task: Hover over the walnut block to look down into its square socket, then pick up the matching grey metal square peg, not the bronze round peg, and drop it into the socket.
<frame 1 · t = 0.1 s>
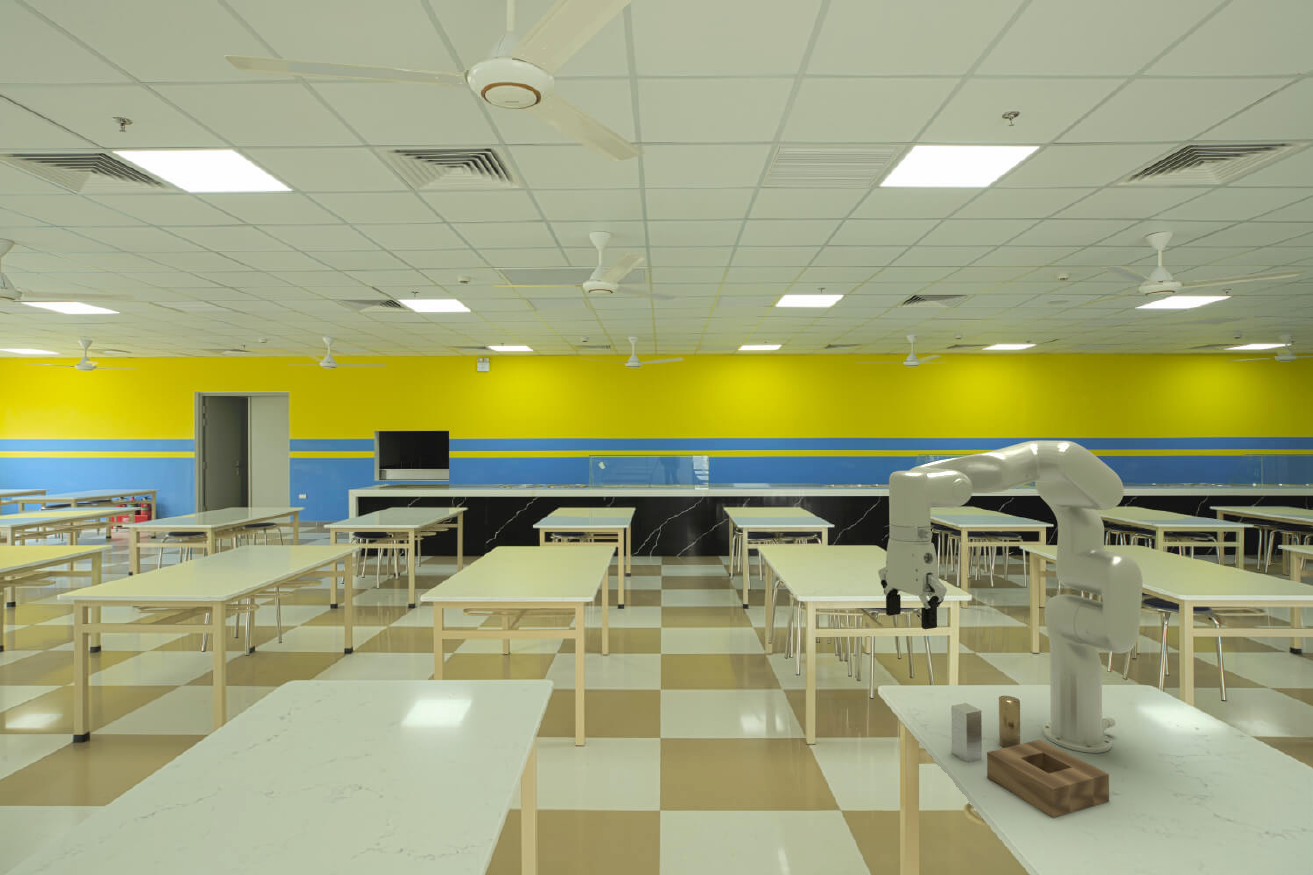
hand: (910, 621, 125), 31 cm above the table, tool pointing down, fingers open, 9 cm apart
socket block: (1046, 788, 121), on the table
square peg: (966, 755, 133), on the table
round peg: (1009, 745, 137), on the table
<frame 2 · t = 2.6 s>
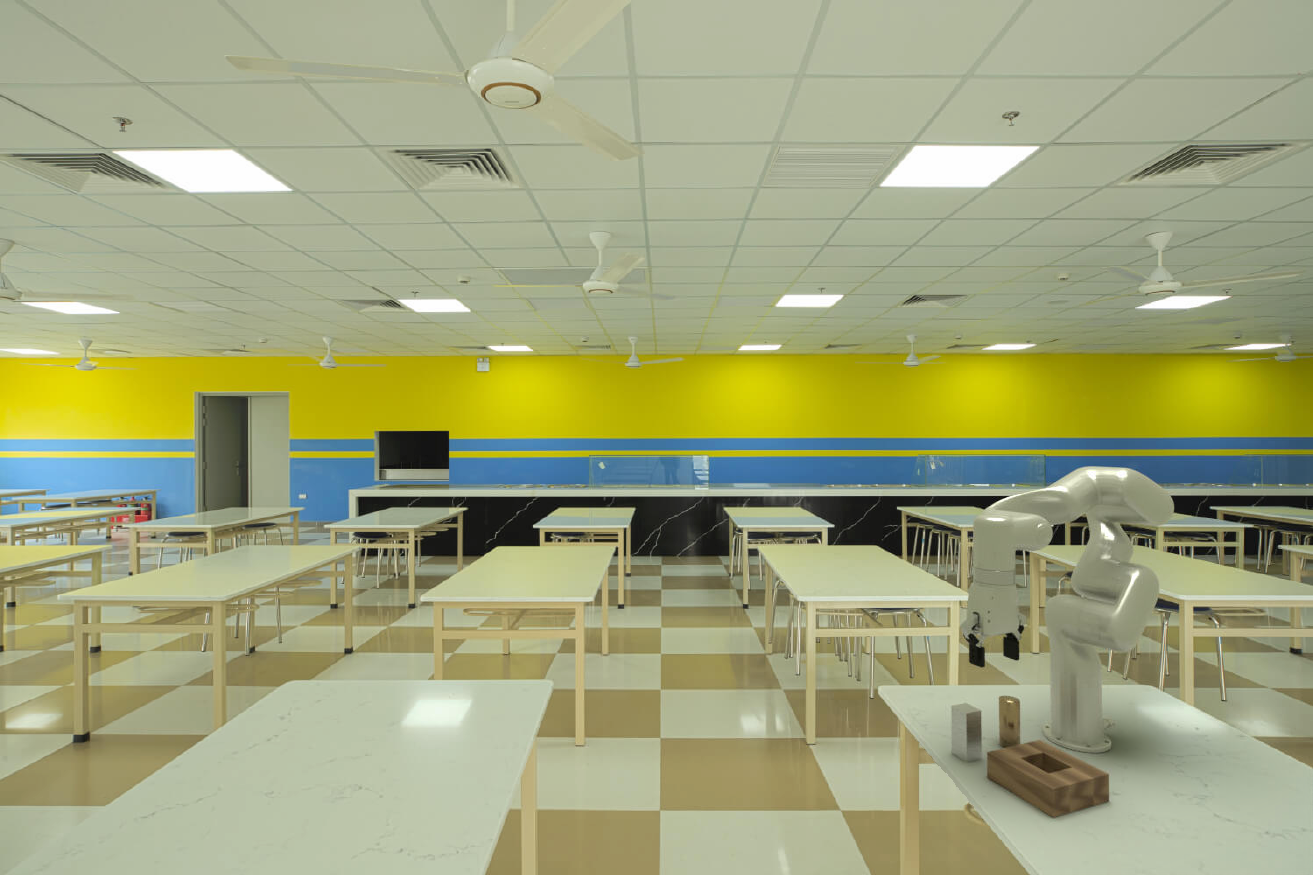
hand: (994, 661, 128), 22 cm above the table, tool pointing down, fingers open, 9 cm apart
nothing on the table moved.
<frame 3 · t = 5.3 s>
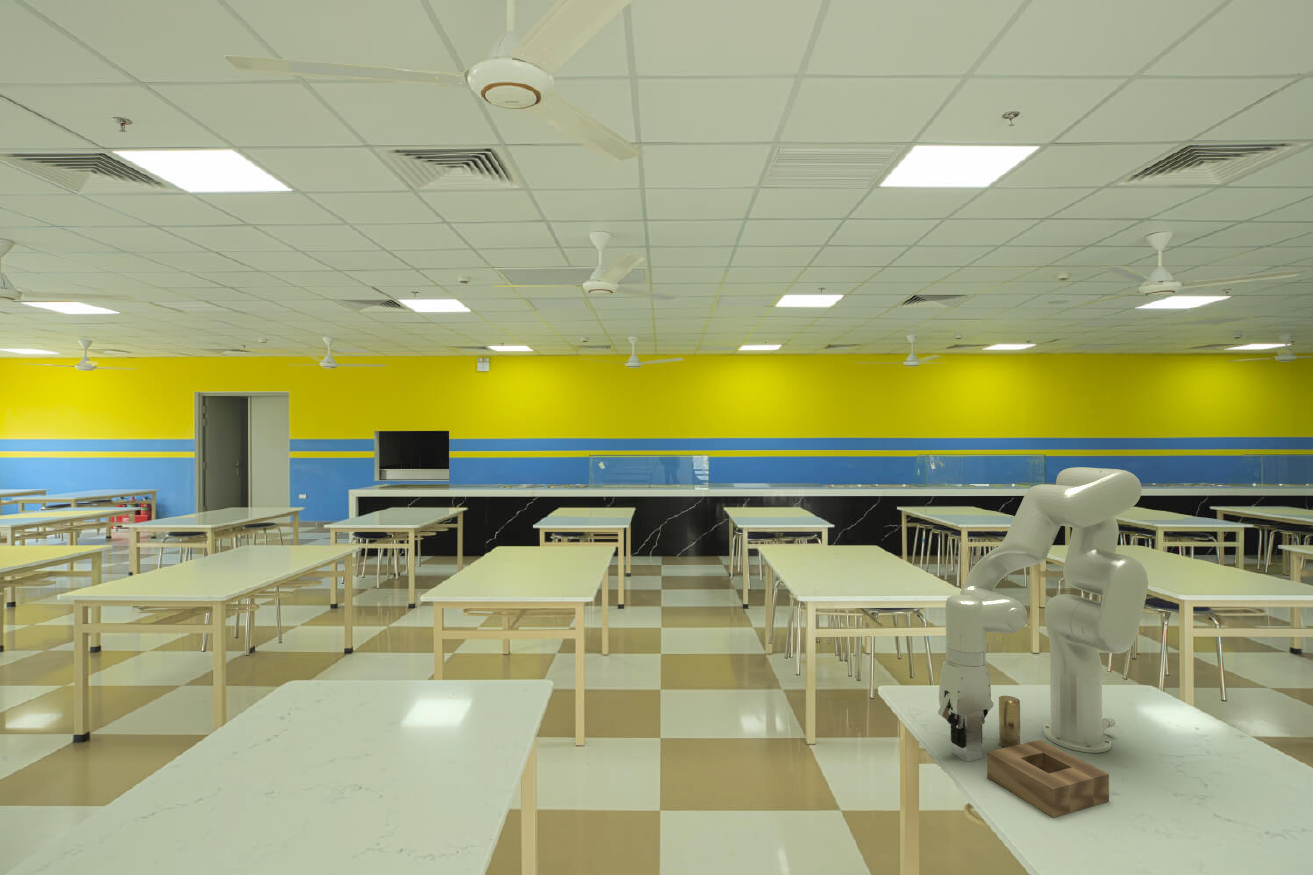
hand: (966, 742, 133), 3 cm above the table, tool pointing down, fingers closed on square peg, 4 cm apart
square peg: (966, 755, 133), on the table, touching gripper
everything else where it was.
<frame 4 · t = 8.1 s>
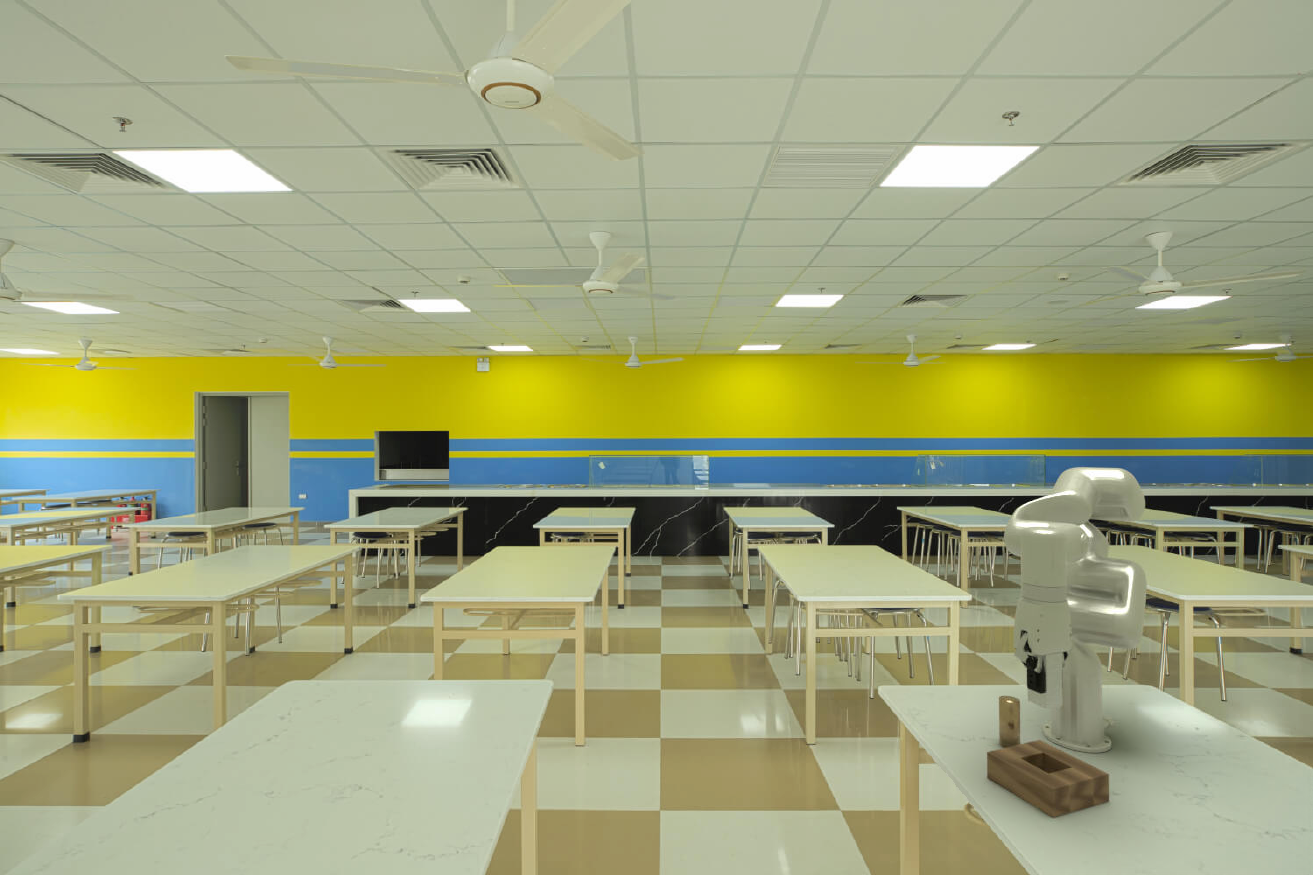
hand: (1044, 687, 121), 19 cm above the table, tool pointing down, fingers closed on square peg, 4 cm apart
square peg: (1044, 702, 121), point 16 cm above the table, touching gripper
everything else where it was.
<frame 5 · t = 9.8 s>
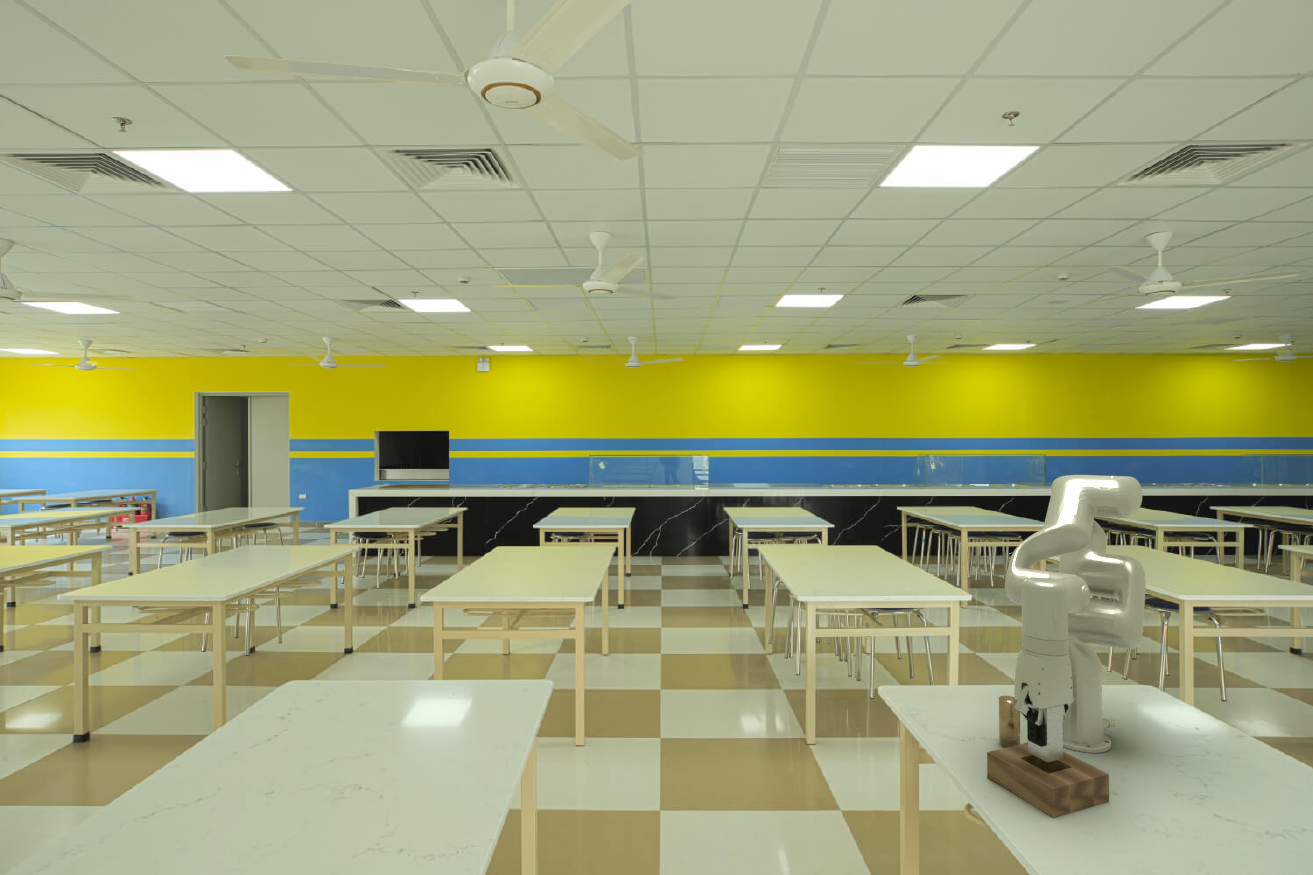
hand: (1045, 740, 120), 9 cm above the table, tool pointing down, fingers closed on square peg, 4 cm apart
square peg: (1045, 755, 120), point 7 cm above the table, touching gripper
everything else where it was.
when the fingers open (6 cm above the table, at t = 11.2 s): square peg drops 3 cm, resting in socket block.
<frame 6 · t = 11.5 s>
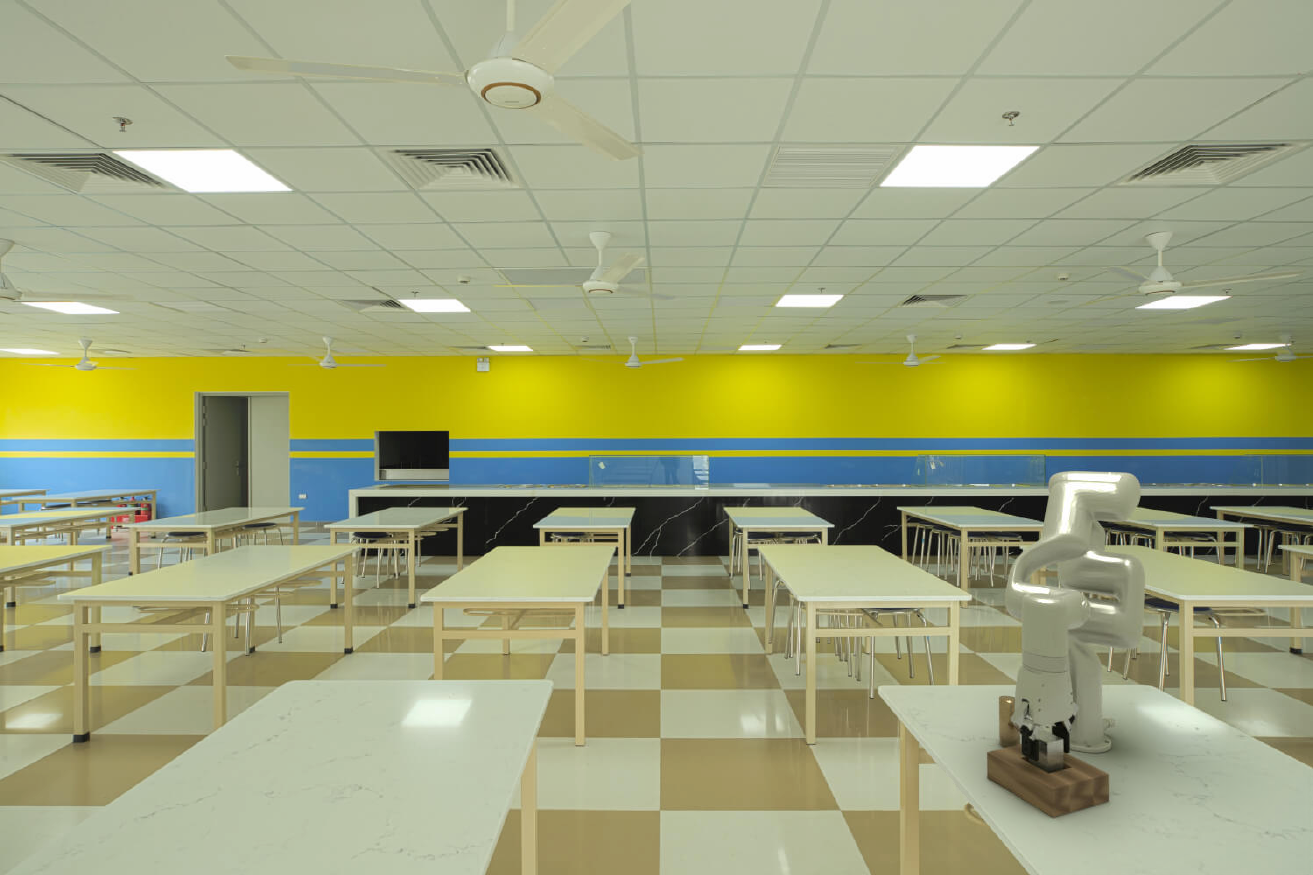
hand: (1045, 753, 121), 7 cm above the table, tool pointing down, fingers open, 7 cm apart
square peg: (1046, 788, 121), resting in socket block
everything else where it was.
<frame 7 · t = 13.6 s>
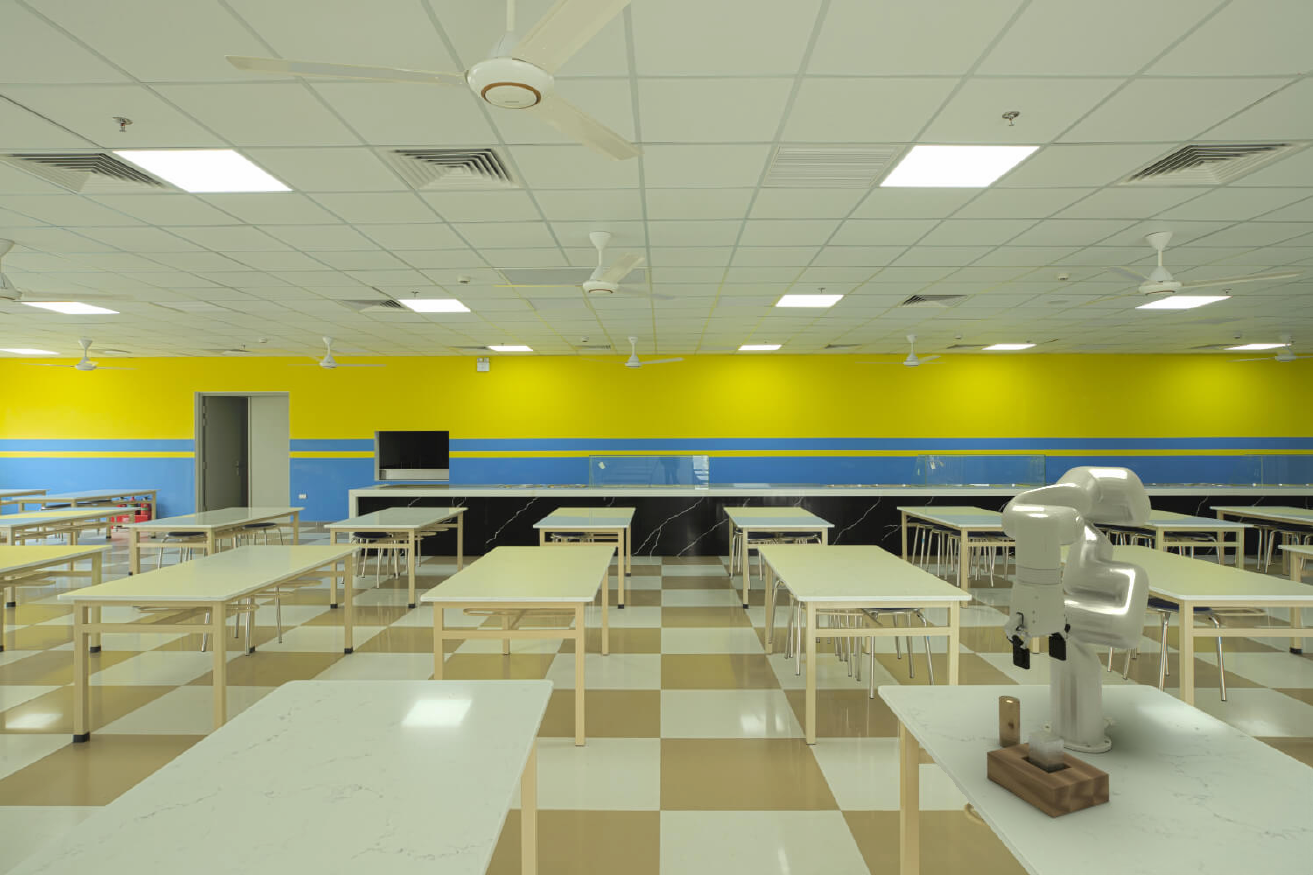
hand: (1039, 662, 123), 23 cm above the table, tool pointing down, fingers open, 9 cm apart
nothing on the table moved.
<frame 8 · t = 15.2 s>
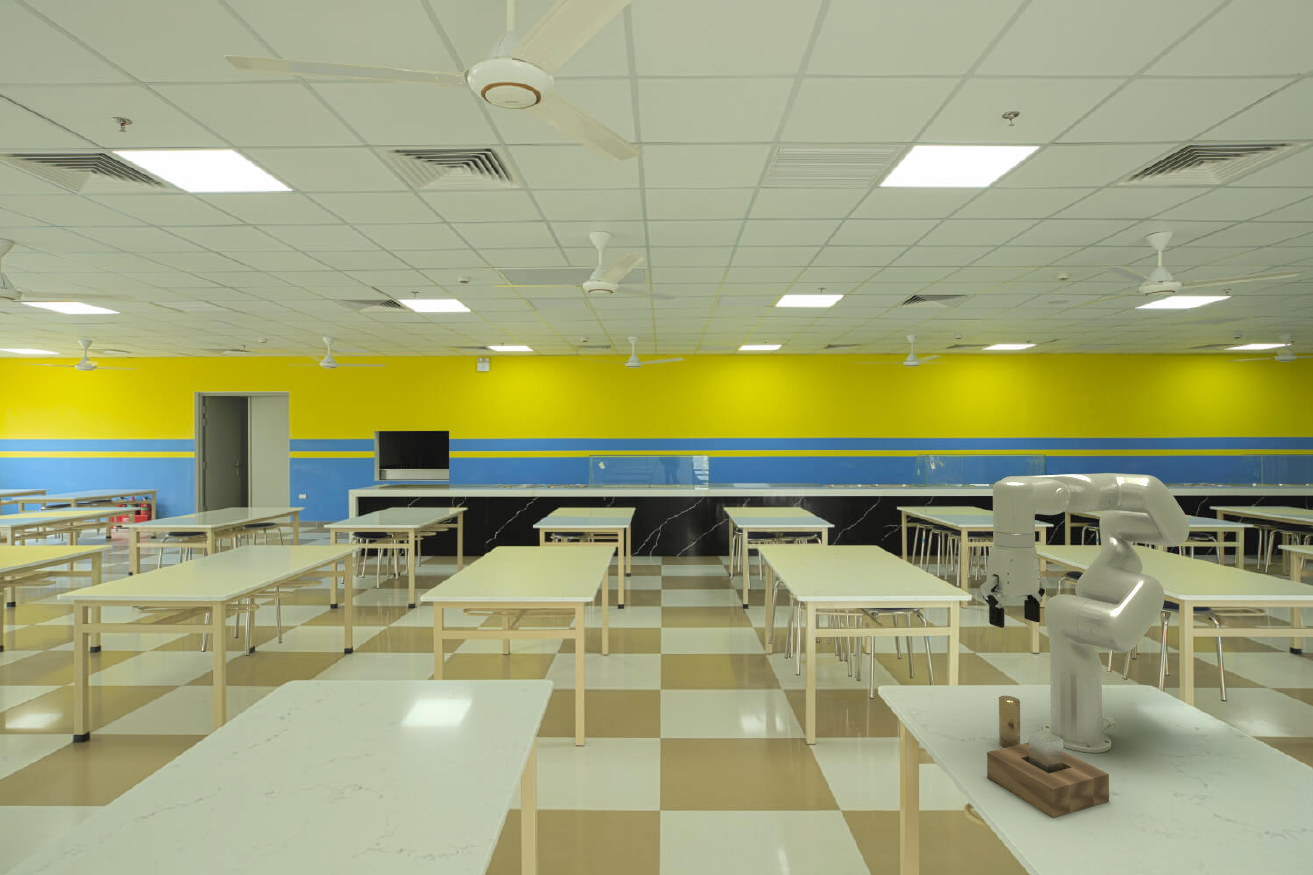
hand: (1014, 623, 131), 28 cm above the table, tool pointing down, fingers open, 9 cm apart
nothing on the table moved.
at the end: square peg 0.1 cm off-centre on the socket block, point 0.0 cm above the socket block's base; square peg tilted 0°; round peg moved 0.0 cm from its start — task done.
